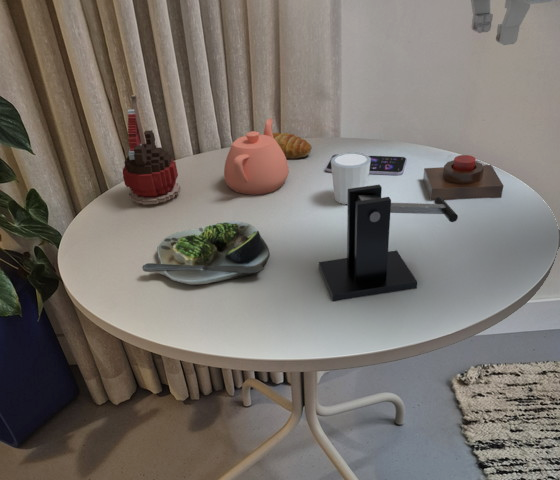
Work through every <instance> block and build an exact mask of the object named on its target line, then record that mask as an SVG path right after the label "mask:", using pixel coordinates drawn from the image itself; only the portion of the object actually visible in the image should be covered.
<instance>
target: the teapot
mask: <svg viewBox="0 0 560 480" xmlns="http://www.w3.org/2000/svg"><path fill="white" fill-rule="evenodd" d="M273 122H274V121H273V118H272V117H271V118H268V119H267V120H266V121H265V125H264V131H263V134H260V132H258V131H255V130H252V131H248V132H246V133H245V135H243V136H240V137H238V138H236V139H235V140H234V141H233V142H232V144H231V145H230V148H229V151H228V153H227V155H226V159H225V162H224V168H223V177H224V181H225V183H226V185H227V186H228V187H229V188H230V189H231V190H232V191H234V192H236V193H238V194H242V195H264V194H265V195H266V194H270V193H273V192H275V191H277V190H279V189H280V188H281V187H282V186H283V185H284V184H285V182H286V181H287V179H288V177H289V173H290V169H289V164H288V160H287V158H286V157H285V155H284V153H283V151H282V149H281V148H280V146H279V145H278V143H277V142H276V140H275V139H274V138H273Z"/></svg>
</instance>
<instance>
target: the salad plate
mask: <svg viewBox="0 0 560 480" xmlns="http://www.w3.org/2000/svg"><path fill="white" fill-rule="evenodd" d="M156 253H157V258H158V261H159V263H154V262H151V263H150V262H149V263H145V264H143V265H142V271H143V272H146V273H152V274H153V273H154V274H158V275H159V274H160V275H162V276H165V277H167V278H168V279H170V280H171V281H174V282H178V283H181V284H186V285H206V284H211V283H217V282H222V281H227V280H228V281H229V280H234V279H239V278H243V277H247V276H251V275H253V274H255V273H259V272H261V271H264V270H265V267H264V266H265V265H266V263H267V261H268V260H269V259H270V255H271V253H270V248H269V246H268V245H267V243H266V241H265V240H264V238H263V237H262V235H261V233H260V232H259V230H257V229H256V227H255V226H254V225H252V224H251V223H249V222H244V221H236V220H229V221H228V220H227V221H221V222H217V223H215V224H209V225H205V226H203V227H198V228H194V229H188V230H183V231H177V232H175V233H172V234H170V235H168V236H166V237H165V238H163V240H161V241H160V242H159V244H158V246H157V248H156Z"/></svg>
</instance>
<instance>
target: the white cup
mask: <svg viewBox="0 0 560 480" xmlns="http://www.w3.org/2000/svg"><path fill="white" fill-rule="evenodd" d="M335 155H336V154H335ZM368 155H369V154H366V153H362V152H361V153H360V152H355V151H354V152H350V151H349V152H343V153H339V155H336V156H334V157H333V158H332V159H331V168H332V172H331V176H332V186H333V195H334V201H335V202H336V201H337V202H336V203H338V202H339V203H338V204H340V203H342V204H341V205H345V204H348V189H351V188H358V187H365V186H369V185H368V184H369V177H370V174H369V170H370V162H371V158H370V157H369V156H370V155H369V156H368Z"/></svg>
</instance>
